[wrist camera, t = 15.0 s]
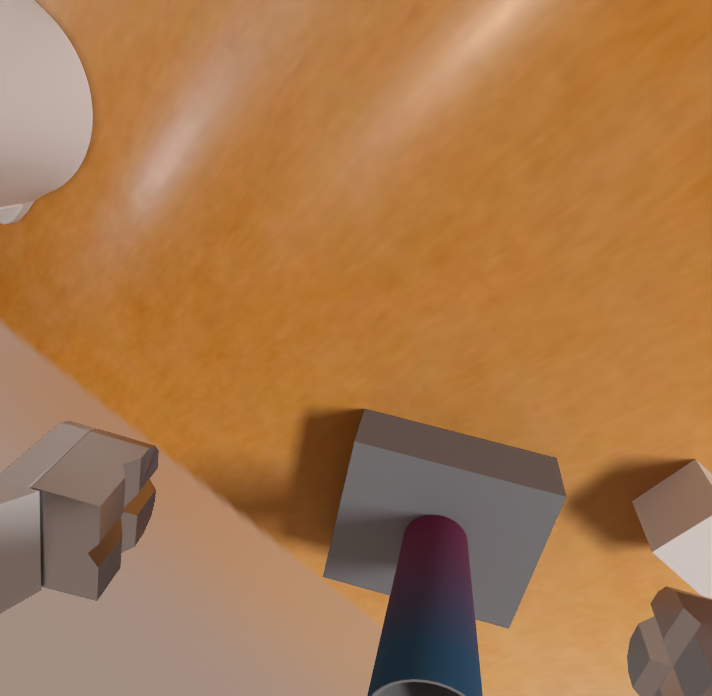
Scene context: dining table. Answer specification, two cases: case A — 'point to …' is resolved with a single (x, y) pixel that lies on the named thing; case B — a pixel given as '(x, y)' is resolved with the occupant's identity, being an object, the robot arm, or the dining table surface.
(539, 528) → the plinth
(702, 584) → the white cube
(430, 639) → the cup
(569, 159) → the dining table surface
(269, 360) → the dining table surface
